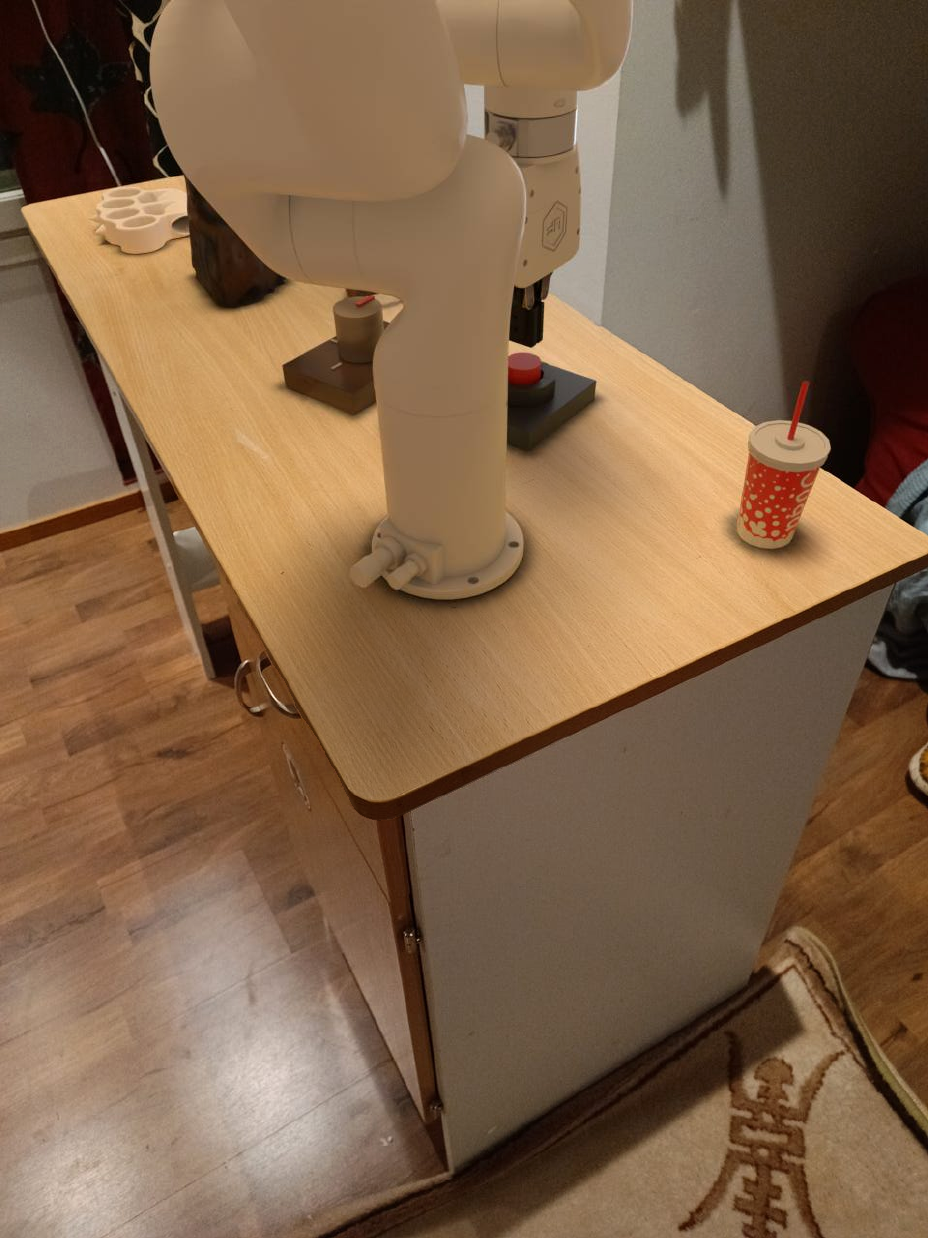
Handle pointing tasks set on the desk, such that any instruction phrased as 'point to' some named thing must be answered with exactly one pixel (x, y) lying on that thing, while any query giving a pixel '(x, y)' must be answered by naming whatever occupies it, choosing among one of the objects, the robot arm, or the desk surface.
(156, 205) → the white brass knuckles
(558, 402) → the switch block
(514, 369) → the power button
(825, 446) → the beverage cup
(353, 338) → the dimmer knob
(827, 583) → the desk surface
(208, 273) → the owl
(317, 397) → the dimmer panel
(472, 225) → the robot arm
